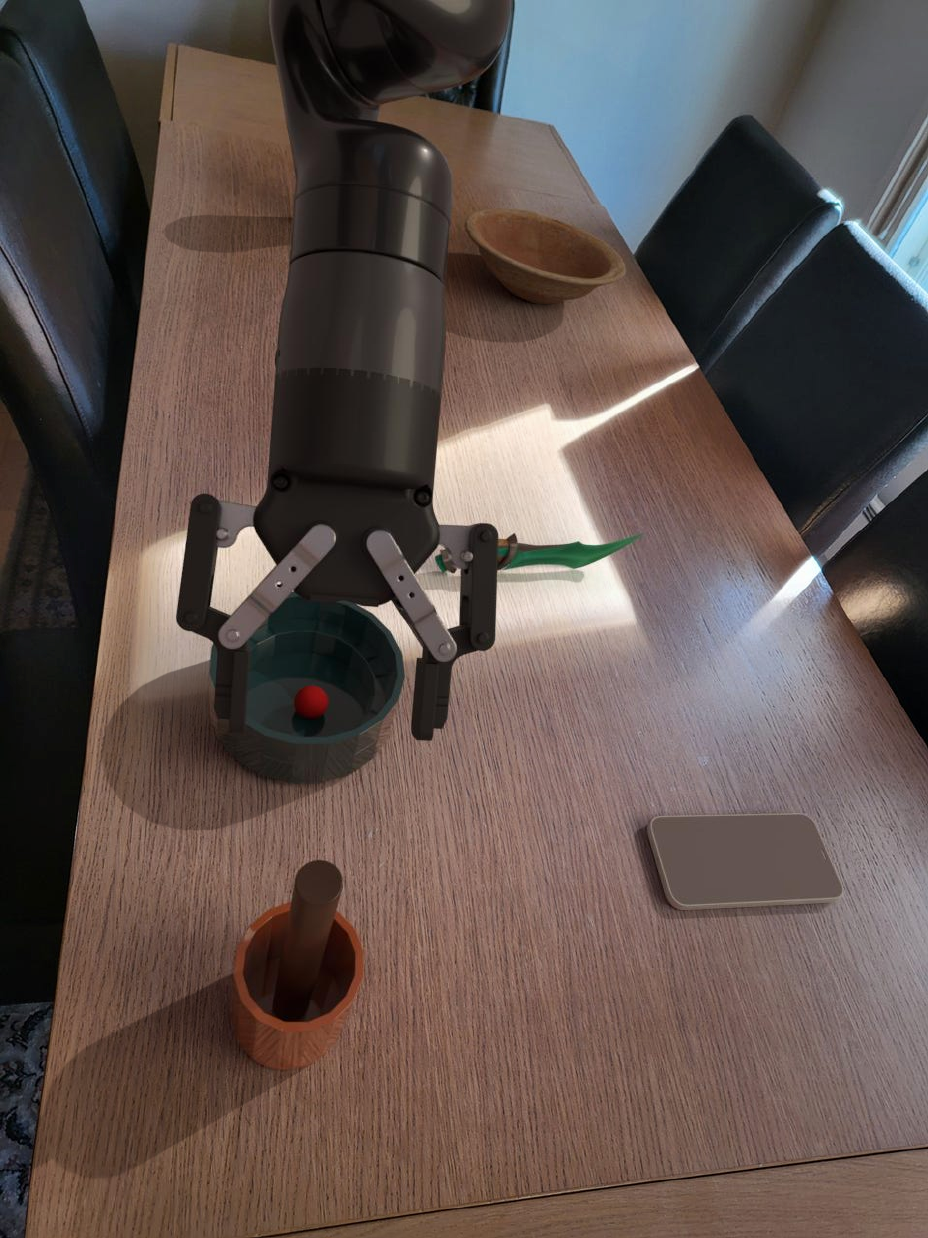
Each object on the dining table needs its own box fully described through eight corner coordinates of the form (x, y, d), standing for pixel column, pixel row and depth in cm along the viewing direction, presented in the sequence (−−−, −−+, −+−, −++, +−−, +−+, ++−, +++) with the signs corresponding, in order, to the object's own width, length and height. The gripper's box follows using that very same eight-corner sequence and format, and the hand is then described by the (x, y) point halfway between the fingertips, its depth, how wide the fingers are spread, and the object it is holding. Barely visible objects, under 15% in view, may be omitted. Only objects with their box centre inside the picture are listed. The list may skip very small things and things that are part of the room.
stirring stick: (278, 1028, 50) (303, 912, 37) (268, 993, 51) (288, 868, 38) (313, 1014, 51) (350, 895, 38) (302, 979, 52) (333, 853, 39)
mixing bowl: (240, 811, 59) (242, 767, 55) (189, 659, 66) (188, 610, 62) (419, 757, 65) (434, 714, 61) (354, 624, 73) (363, 577, 68)
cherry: (309, 712, 62) (312, 731, 64) (334, 691, 63) (336, 710, 65) (285, 693, 63) (288, 713, 65) (309, 673, 64) (312, 693, 66)
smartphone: (646, 815, 66) (810, 812, 69) (642, 821, 66) (805, 817, 70) (674, 907, 61) (848, 898, 64) (669, 912, 61) (842, 903, 65)
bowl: (637, 312, 126) (658, 261, 120) (541, 350, 112) (559, 295, 106) (524, 239, 134) (538, 188, 128) (420, 266, 120) (431, 211, 114)
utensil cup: (250, 1091, 48) (256, 1055, 42) (217, 975, 52) (218, 926, 46) (362, 1040, 51) (382, 1000, 45) (324, 934, 55) (337, 884, 49)
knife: (434, 580, 78) (444, 543, 75) (429, 566, 80) (440, 529, 76) (630, 573, 86) (649, 538, 82) (623, 560, 87) (641, 525, 83)
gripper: (187, 337, 32) (160, 747, 33) (534, 387, 36) (500, 758, 37) (202, 377, 40) (179, 712, 41) (489, 415, 43) (461, 724, 44)
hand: (331, 733), depth 39 cm, fingers open, 8 cm apart
